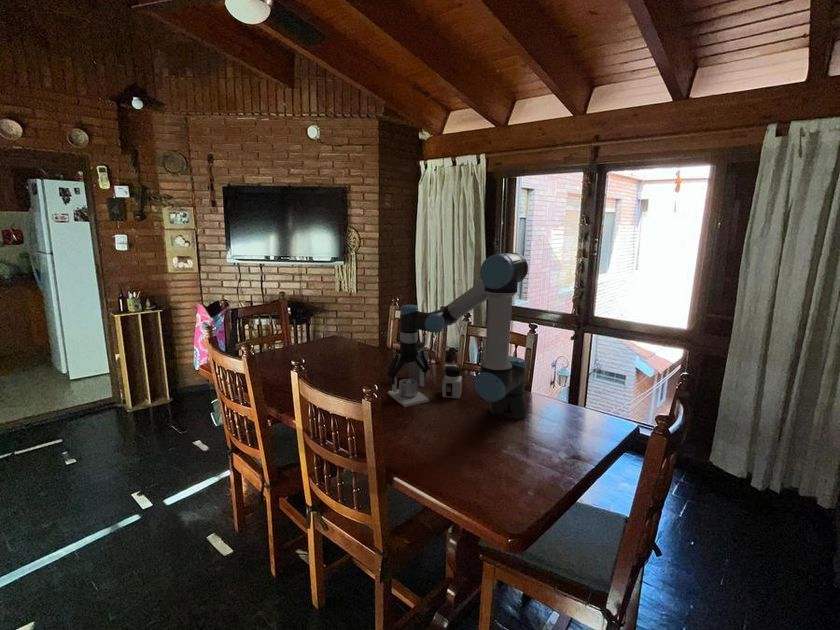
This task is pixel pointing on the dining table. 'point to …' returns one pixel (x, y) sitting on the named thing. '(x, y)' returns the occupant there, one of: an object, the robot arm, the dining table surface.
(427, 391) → the dining table surface
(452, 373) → the container
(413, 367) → the perfume bottle
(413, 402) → the shaft block
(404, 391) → the hub
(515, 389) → the robot arm
